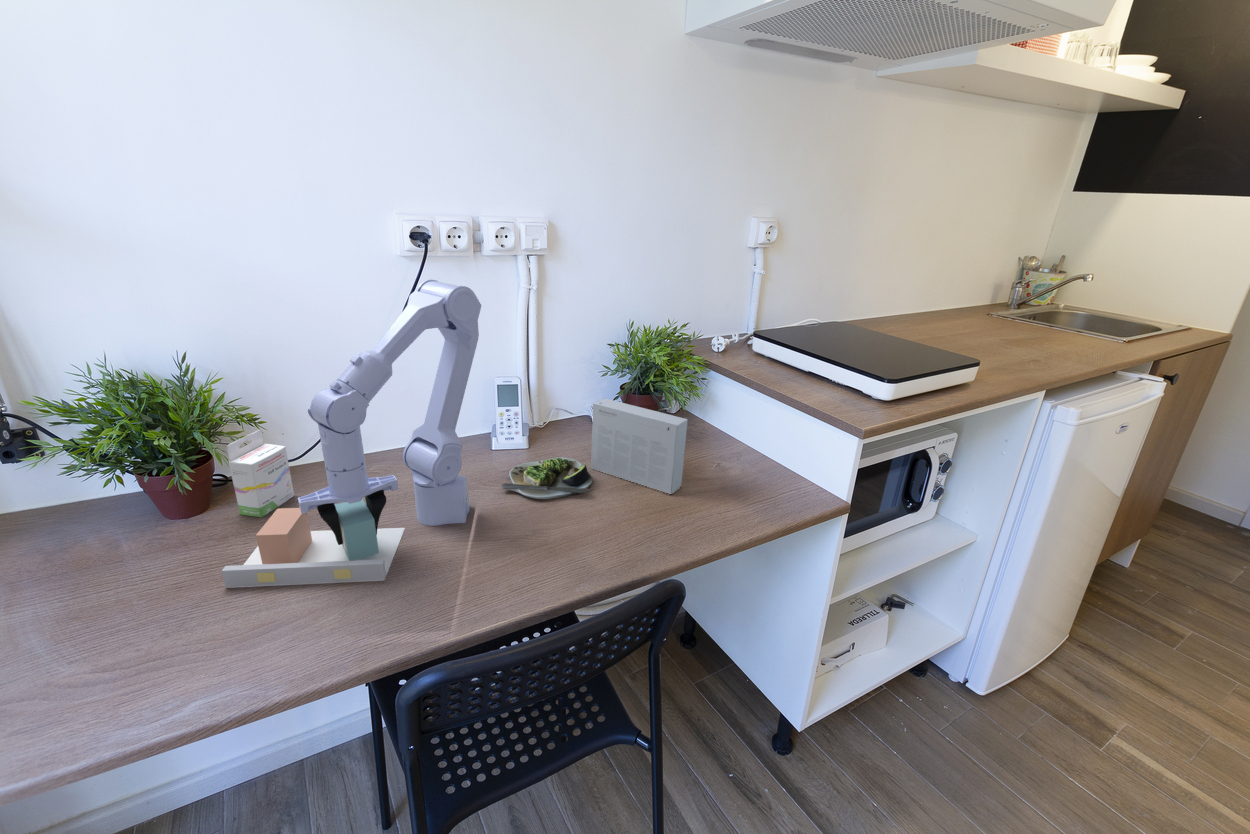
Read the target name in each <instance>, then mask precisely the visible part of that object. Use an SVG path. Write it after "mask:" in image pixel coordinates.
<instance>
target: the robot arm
mask: <svg viewBox="0 0 1250 834" xmlns="http://www.w3.org/2000/svg"><path fill="white" fill-rule="evenodd" d="M481 308H482V304H481V302H480V300H479V298H478V296H477V295H476V294H475V291H473V289H471V288H470V287H468V286H466V285H465V286H463V285H456V284H451V283H447V282H441V281H438V280H436V279H426V280H423V281H422V282H421V283H419V285H418V286H417V288H416V290H414V291H413V292H411V293H410V295H409V296H408V301H407V304H406V306H405V308H404V310H403V311H402V312H401V313H400V314H399V316H398V317H397V319H396V320H395V321H394V322H393V324H392V325H391V326H390V328H389V329H388V330H387V331H386V333H385V334H384V336H382V338H381V339H380V341H379V342H378V343H377V345H376V346H375V347H374V348H373V349H372V350H364V351H360V353H359V354H358V355H357V354H354V355H353V356H352V357H351V358H350V359H349V362H350V364H349V365H348V366H347V367H346V369H345V370H343V372H342V373H341V374H340V375H339V376H338V378H337V379H336V380H332V381H331V383H330V384H329V387H330V388H325V390H324V389H323V390H320V391H319V392H317V393H316V394H315V395H314V396H313V398H312V400H311V403H310V404H311V405H310V408H308V409H307V413H308V416H309V417H310V419H311V420H312V421H314V422H315V423H317V425H318V431H319V432H318V433H319V438H320V444H321V450H322V457H323V461H324V468H325V474H326V479H327V480H326V481H327V487H324V488H321V489H319V490H317V491H316V490H315V491H314V492H311V493H308V494H307V495H302V496H299V497H297V502H298V508H300V511H301V513H302V514H303V513H307V514H308V513H309V512H310V510H315V509H317V512H318V514H319V517H320V518H321V520H323V522H324V523H325V524H327V526H328V527H329V528H330V529H331V530H332V531H333V533H334V534H335V537H336V541H337V543H338V545H341V544H343V539H342V535H341V531H340V526H339V517H338V512H337V510H336V506H335V504H339V503H343V502H348V503H349V504H351V503H356V502H359V501H361V500H362V498H363V499H365V500H364V501H365V504H366V505H367V507H368V509H369V511H370V513H371V514H372V516H373V518H374V521H375V528H376V534H377V529H379V528H378V526H379V521H380V518H381V514H382V512H383V509H384V508H385V506H386V504H387V496H386V494H385V492H386V491H390V490H391V491H392V492H395V491H398V490H399V483H398V479H397V477H396V476H395V475H394V474H392V475H385V476H379V477H376V476H375V477H368V472H367V467H366V466H367V465H366V459H365V452H364V445H363V437H362V432H361V426H362V425H363V424H364V422H365V421H366V418H367V409H368V408H369V406H370V403H371V401H372V400H373V399H374V398H375V396H376V395H377V394H378V393H379V392H380V390H381V389H382V388H383V386H384V385H385V384H386V383H387V382H388V381H389V380H390V379H391V377H392V376H393V364H394V362H395V361H396V360H397V359H398V358H399V357H400V356H401V355H402V354H403V353H404V352H405V351H406V350H407V349H408V348H409V347H410V346H411V345H412V344H413V343H414V342H415V340H417V339H418V338H419V337H420V335H421V334H422V333H424V331H426V330H431V329H438V330H439V332H440V334H441V336H443V339H444V342H443V346H442V350H441V355H440V359H439V362H438V366H437V370H436V374H435V377H434V381H433V385H432V391H431V394H430V398H429V403H428V405H427V409H426V415H425V417H424V422H423V423H422V425H420V426H418V427H417V428H415V429H414V430H412V435H411V437H410V440H409V442H408V443H407V444H406V445H405V447H404V449H403V452H402V461H403V464H404V465H405V466H406V468H408V469H410V471H411V472H410V475H411V476H412V480H413V481H412V482H413V493H414V501H415V502H414V503H415V511H416V519H417V521H418V522H419V523H420V524H422V525H424V526H429V527H430V526H432V527H435V526H442V525H448V524H450V525H451V524H465V523H466V522H467V517H468V514H469V513H470V502H469V501H470V500H469V486H468V478H467V475H460V472H461V469H462V465H463V464H462V463H463V461H462V455H461V454H462V449H463V444H462V441H461V439H460V438H459V436H458V434H457V432H456V428H457V424H458V420H459V416H460V412H461V409H462V405H463V400H464V396H465V393H466V389H467V385H468V381H469V377H470V373H471V369H472V365H473V361H474V357H475V353H476V349H477V345H478V341H479V337H480V335H479V334H480V333H479V331H480V330H479V318H480V317H479V316H480V313H481V311H482V309H481Z"/></svg>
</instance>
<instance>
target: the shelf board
mask: <svg viewBox="0 0 1250 834" xmlns="http://www.w3.org/2000/svg"><path fill="white" fill-rule="evenodd" d="M405 529H406V528H405V527H390V528H388V527H386V528H384V527H383V528H377V534H376V535H377V542H378V549H379V553H378V554H374V555H371V556H368V557H364V558H361V559H358V560H354V561H349V559H348V557H347V555H346V553H345V550H344V548H343V546H342V544H341V545H338V543H337V541H336V537H335V534H334V533H333V531H332V530H310V531H311V537H312V542H311V543H310V545H309V546H308V548H307V549H306V551H305V552H304V554H303V556H302V557H301V559H300V560H299V562H298V563H283V564H262V560H261V556H260V552H259V547H258V546H256V548H255V549H254V550H253V552H252V553H251V554H250V556H248V558H247V559H246V560H245V562H244V563H243V564H242V565H240V564H239V565H238V564H237V565H225V566H224V567H223V568H222V570H221V573H222V577H223V581H224V585H225V589H228V588H231V589H232V588H248V587H249V588H250V587H251V588H252V587H271V586H272V587H273V586H274V587H275V586H292V585H293V586H296V585H314V584H315V585H316V584H317V585H318V584H319V585H320V584H337V583H359V582H360V583H361V582H377V581H378V582H379V581H380V582H381V581H383V582H384V581H385V580H386V578H387V575H388V573H389V570H390V567H391V564H392V562H393V559H394V558H395V554H396V552H397V549H398V548H399V547H398V546H399V545H400V541H401V540H402V539H401V538H402V537H403V534H404V531H405Z"/></svg>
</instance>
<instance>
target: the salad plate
mask: <svg viewBox="0 0 1250 834" xmlns="http://www.w3.org/2000/svg"><path fill="white" fill-rule="evenodd" d="M508 476H509V479H510V481H511V483H506V482H505V483H502V484H501V485H500V487H501V490H502V489H503V490H508V491H513V492H515V493H518V494H520V495H521V496H524V497H527V498H532V499H535V500H553V499H558V498H559V499H560V498H565V497H566V498H567V497H571V496H573V497H574V496H579V495H582V494H585V493H590V492H591V491H592V490H591V489H590V488H591V486H592V485H593V483H594V480H593V477H592V475H591V474H590V473H589V472H588V467H587V465H586V464H582V463H581V462H580V461H578V460H577V459H574V458H569V457H559V456H558V457H552V458H548V459H542V460H538V461H537V460H536V461H530V462H523V463H520V464H519V463H518V464H517V465H515V466H514V467H513V468H512V469H511V470H510V471H509V472H508Z"/></svg>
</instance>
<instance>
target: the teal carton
mask: <svg viewBox="0 0 1250 834" xmlns="http://www.w3.org/2000/svg"><path fill="white" fill-rule="evenodd" d="M334 505H335V506H336V510H337V512H338V517H339V526H340V531H341V535H342V539H343V544H342V546H343V548H344V550H345V553H346V555H347V557H348V559H349V561H354V560H358V559H361V558H364V557H368V556H371V555H374V554H378V553H379V549H378V542H377V535H376V528H375V521H374V518H373V516H372V514H371V513H370V511H369V509H368V507H367V504H366V501H365V500H364V497H363V498H362V500H361V501H359V502H356V503H351V504H349V503H348V502H339V503H335V504H334Z"/></svg>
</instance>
